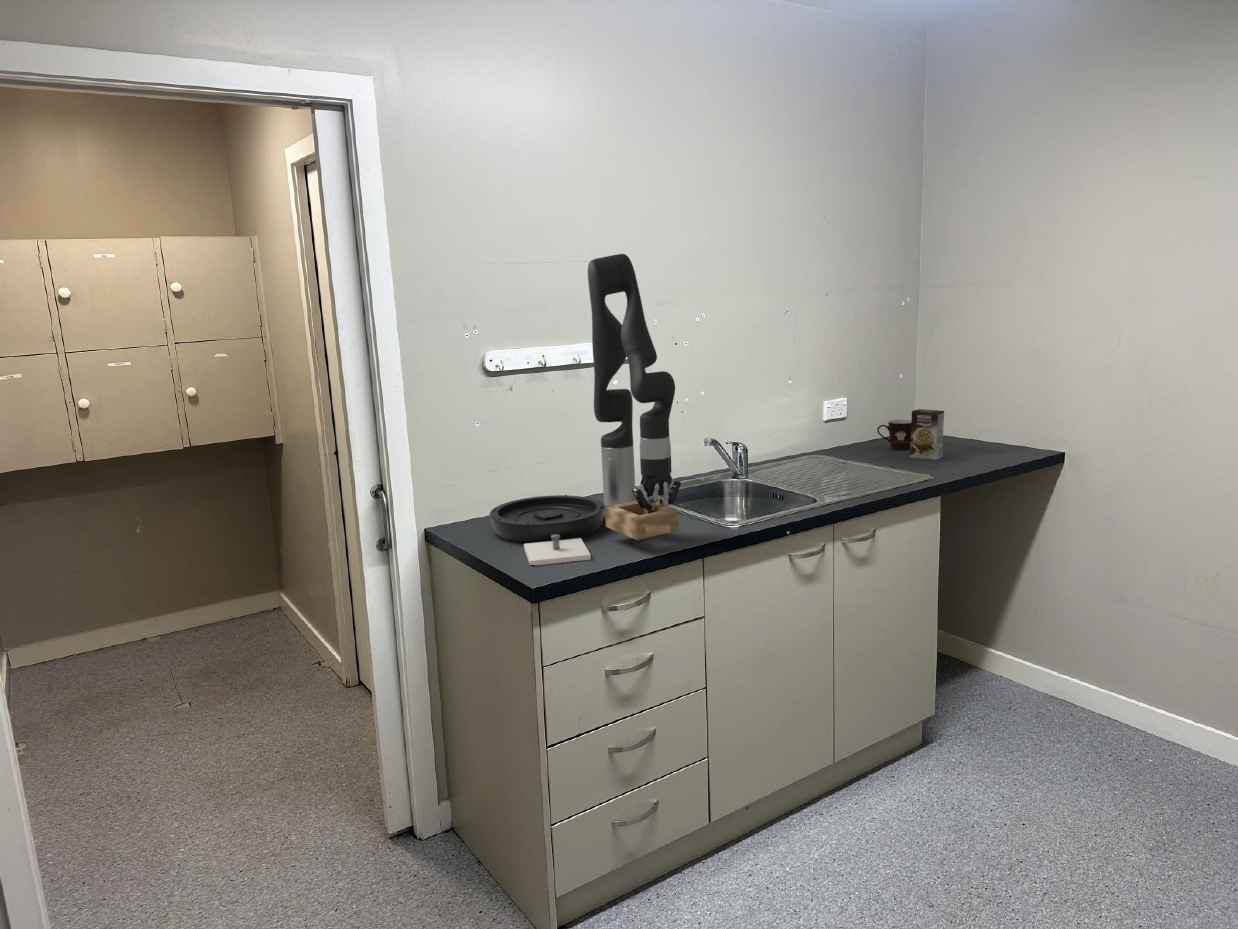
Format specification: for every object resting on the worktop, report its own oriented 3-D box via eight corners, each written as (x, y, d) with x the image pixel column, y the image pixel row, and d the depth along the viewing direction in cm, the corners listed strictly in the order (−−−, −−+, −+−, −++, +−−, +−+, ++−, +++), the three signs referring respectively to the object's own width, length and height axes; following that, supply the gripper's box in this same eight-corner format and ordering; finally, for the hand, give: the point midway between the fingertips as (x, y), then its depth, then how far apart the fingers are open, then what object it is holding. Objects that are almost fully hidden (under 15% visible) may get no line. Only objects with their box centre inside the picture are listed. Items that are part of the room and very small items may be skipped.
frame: (605, 526, 210) (604, 507, 209) (646, 517, 216) (645, 498, 215) (637, 540, 199) (636, 519, 198) (678, 530, 205) (678, 510, 204)
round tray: (564, 508, 245) (470, 529, 227) (563, 488, 243) (469, 508, 226) (628, 529, 221) (529, 554, 204) (627, 506, 220) (528, 530, 202)
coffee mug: (916, 448, 307) (917, 420, 305) (906, 452, 300) (907, 424, 298) (886, 445, 314) (886, 418, 312) (875, 449, 308) (876, 421, 306)
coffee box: (909, 457, 291) (910, 411, 288) (916, 454, 296) (917, 408, 292) (936, 460, 285) (937, 412, 282) (943, 457, 290) (944, 409, 287)
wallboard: (524, 548, 207) (522, 530, 206) (580, 542, 210) (580, 525, 209) (530, 566, 194) (529, 547, 193) (590, 559, 196) (589, 540, 195)
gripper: (669, 448, 213) (671, 514, 217) (623, 456, 206) (626, 525, 209) (687, 452, 207) (689, 521, 210) (640, 461, 199) (643, 532, 203)
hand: (657, 523), depth 210 cm, fingers closed on frame, 2 cm apart
